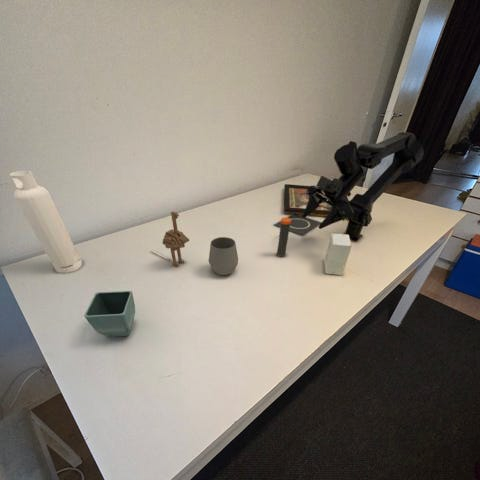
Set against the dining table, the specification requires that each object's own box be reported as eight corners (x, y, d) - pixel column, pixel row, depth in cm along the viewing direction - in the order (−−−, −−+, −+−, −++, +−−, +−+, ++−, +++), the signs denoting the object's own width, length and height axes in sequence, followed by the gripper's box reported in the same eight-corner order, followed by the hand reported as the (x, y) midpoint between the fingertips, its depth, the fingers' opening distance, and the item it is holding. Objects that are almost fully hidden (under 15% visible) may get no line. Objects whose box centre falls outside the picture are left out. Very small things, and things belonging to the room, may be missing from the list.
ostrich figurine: (193, 263, 89) (186, 210, 77) (178, 272, 85) (169, 217, 73) (159, 248, 96) (148, 197, 84) (145, 255, 92) (130, 203, 80)
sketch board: (294, 214, 120) (294, 213, 120) (321, 223, 113) (321, 222, 113) (273, 225, 111) (273, 224, 111) (302, 235, 105) (302, 234, 104)
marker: (280, 251, 96) (284, 216, 87) (287, 254, 94) (292, 219, 85) (274, 255, 94) (279, 219, 85) (282, 258, 92) (287, 222, 83)
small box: (341, 275, 85) (352, 246, 78) (324, 273, 86) (332, 244, 79) (340, 262, 91) (349, 234, 84) (323, 260, 92) (331, 232, 84)
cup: (216, 281, 82) (214, 253, 75) (205, 267, 88) (202, 239, 81) (243, 274, 85) (243, 246, 78) (230, 260, 91) (230, 233, 84)
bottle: (87, 262, 89) (45, 170, 69) (69, 274, 83) (18, 179, 64) (68, 257, 91) (22, 167, 71) (49, 270, 85) (-6, 175, 66)
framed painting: (362, 219, 117) (365, 212, 115) (284, 217, 116) (285, 210, 114) (340, 190, 144) (341, 184, 142) (276, 189, 144) (277, 183, 142)
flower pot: (107, 318, 70) (95, 291, 63) (141, 316, 70) (132, 290, 64) (98, 343, 63) (82, 316, 57) (135, 341, 64) (124, 314, 58)
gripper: (317, 158, 85) (284, 198, 89) (358, 174, 73) (317, 219, 77) (330, 181, 93) (299, 217, 97) (369, 199, 81) (332, 239, 85)
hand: (310, 222), depth 89 cm, fingers open, 9 cm apart
